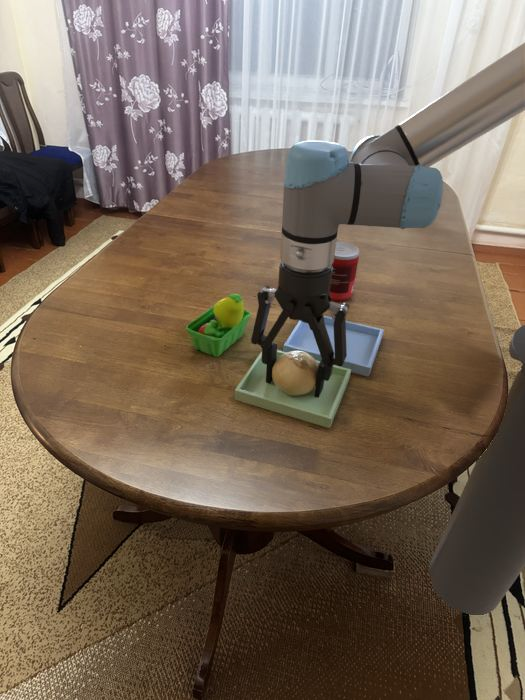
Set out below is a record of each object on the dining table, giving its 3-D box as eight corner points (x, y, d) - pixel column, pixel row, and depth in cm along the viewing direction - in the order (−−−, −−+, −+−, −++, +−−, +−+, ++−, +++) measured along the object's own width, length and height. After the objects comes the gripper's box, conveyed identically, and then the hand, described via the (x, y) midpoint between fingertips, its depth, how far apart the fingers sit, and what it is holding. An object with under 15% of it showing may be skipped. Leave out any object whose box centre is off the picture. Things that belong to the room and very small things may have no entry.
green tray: (349, 378, 82) (351, 369, 81) (329, 428, 72) (331, 419, 71) (264, 355, 87) (264, 346, 85) (234, 399, 77) (234, 390, 75)
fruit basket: (220, 322, 95) (218, 272, 88) (257, 335, 92) (258, 285, 85) (185, 350, 87) (181, 297, 80) (224, 366, 84) (223, 312, 77)
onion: (261, 386, 79) (262, 353, 74) (290, 365, 83) (293, 332, 79) (298, 409, 74) (302, 375, 70) (327, 385, 79) (332, 352, 75)
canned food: (339, 282, 110) (346, 239, 104) (359, 298, 105) (367, 253, 98) (311, 288, 108) (316, 244, 101) (330, 305, 102) (336, 259, 95)
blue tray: (381, 338, 92) (383, 329, 91) (368, 377, 83) (370, 367, 81) (304, 319, 97) (305, 311, 96) (282, 354, 87) (283, 345, 86)
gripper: (227, 258, 65) (229, 381, 79) (374, 289, 60) (349, 417, 73) (249, 239, 71) (247, 357, 85) (385, 265, 65) (359, 388, 79)
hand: (294, 384), depth 79 cm, fingers closed on onion, 8 cm apart
